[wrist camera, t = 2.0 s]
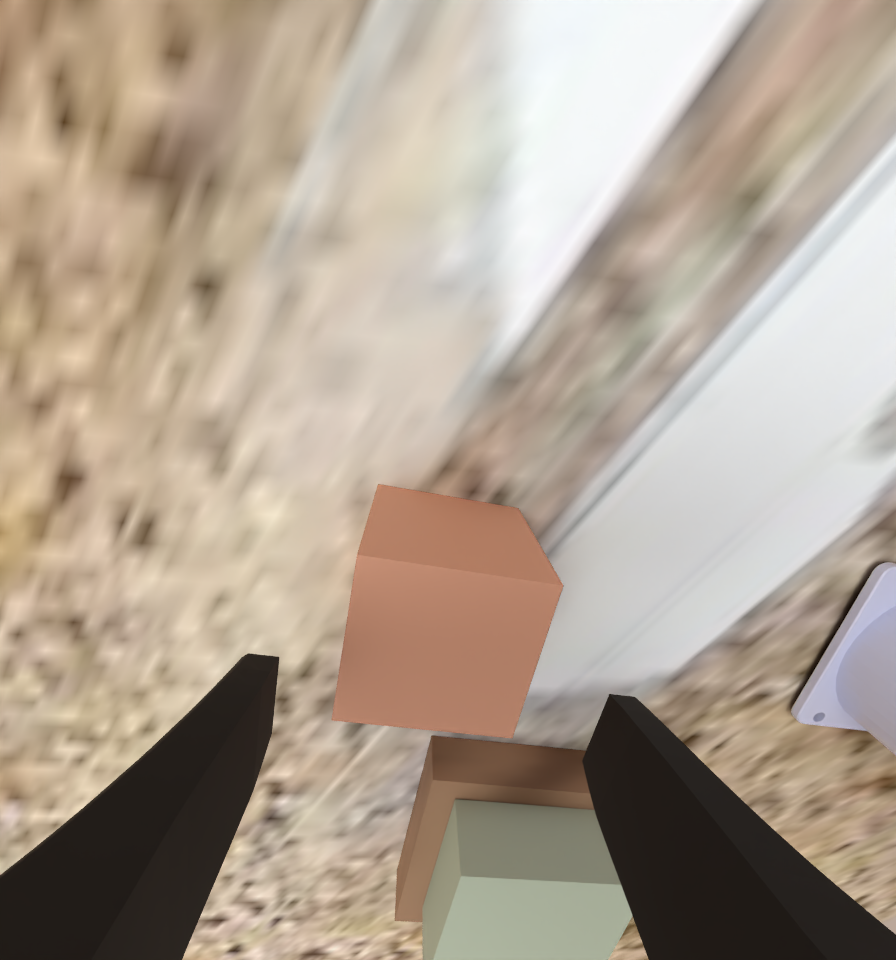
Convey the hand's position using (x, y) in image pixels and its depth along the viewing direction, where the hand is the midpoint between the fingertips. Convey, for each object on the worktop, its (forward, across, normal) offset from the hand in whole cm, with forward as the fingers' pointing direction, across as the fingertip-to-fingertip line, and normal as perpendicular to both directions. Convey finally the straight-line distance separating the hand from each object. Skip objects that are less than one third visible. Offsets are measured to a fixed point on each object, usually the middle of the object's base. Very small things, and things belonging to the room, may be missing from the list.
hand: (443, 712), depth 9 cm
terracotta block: (+7, 0, 0) cm, 7 cm away
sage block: (+5, -6, +13) cm, 15 cm away
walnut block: (+7, -6, +13) cm, 16 cm away
